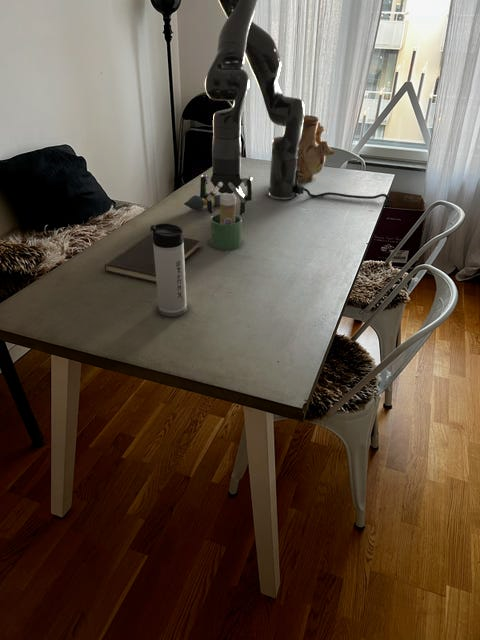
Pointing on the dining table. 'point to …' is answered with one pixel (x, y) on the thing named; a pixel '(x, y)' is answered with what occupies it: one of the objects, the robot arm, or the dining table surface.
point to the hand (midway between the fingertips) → (226, 213)
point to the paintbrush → (201, 202)
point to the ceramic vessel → (311, 149)
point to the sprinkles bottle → (227, 209)
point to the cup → (225, 233)
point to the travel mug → (169, 269)
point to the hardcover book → (143, 259)
